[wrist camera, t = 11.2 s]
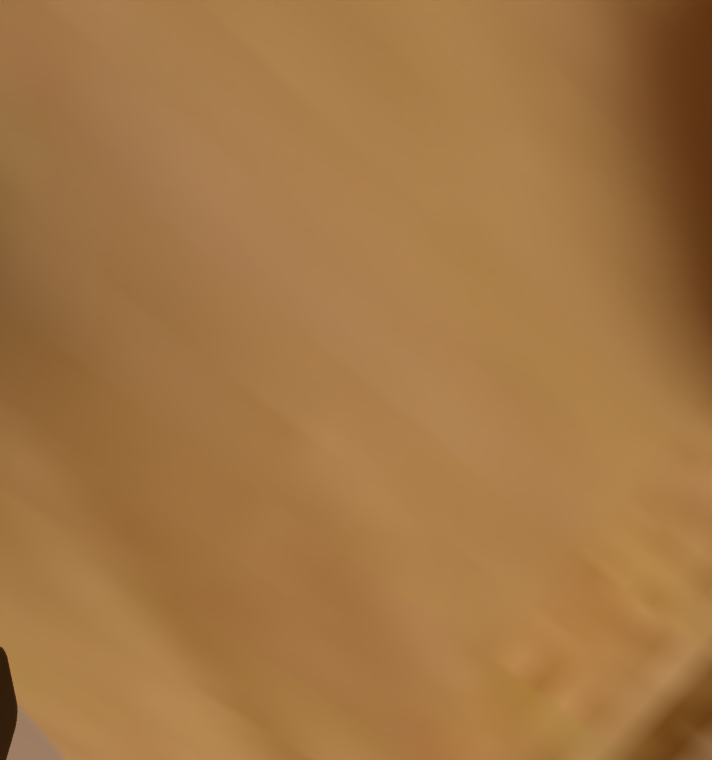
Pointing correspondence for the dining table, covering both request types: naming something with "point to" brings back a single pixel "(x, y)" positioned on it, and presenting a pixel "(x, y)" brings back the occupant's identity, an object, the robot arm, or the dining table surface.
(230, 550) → the dining table surface
